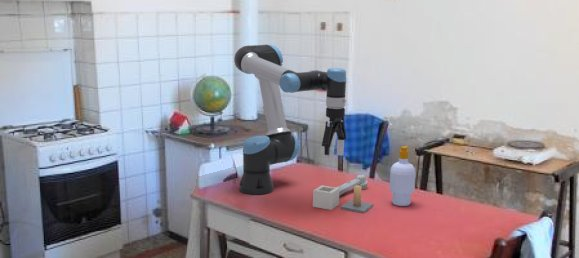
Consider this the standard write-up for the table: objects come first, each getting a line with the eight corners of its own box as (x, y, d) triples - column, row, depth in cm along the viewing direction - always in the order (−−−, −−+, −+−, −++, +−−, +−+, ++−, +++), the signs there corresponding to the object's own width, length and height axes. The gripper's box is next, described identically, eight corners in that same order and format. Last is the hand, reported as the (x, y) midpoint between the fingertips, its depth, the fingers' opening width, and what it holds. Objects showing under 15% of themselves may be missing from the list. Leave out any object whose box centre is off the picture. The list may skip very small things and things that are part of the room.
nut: (312, 206, 242) (313, 190, 241) (321, 201, 249) (321, 185, 248) (330, 209, 238) (331, 193, 237) (338, 204, 245) (339, 188, 244)
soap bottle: (418, 203, 247) (421, 147, 243) (405, 209, 240) (408, 151, 235) (397, 198, 254) (400, 143, 249) (383, 203, 247) (386, 147, 242)
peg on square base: (340, 209, 240) (341, 187, 238) (350, 202, 248) (351, 181, 246) (363, 213, 235) (364, 191, 233) (373, 206, 244) (373, 185, 242)
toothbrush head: (325, 189, 253) (360, 170, 270) (326, 203, 255) (360, 184, 272) (335, 192, 250) (369, 172, 267) (336, 206, 252) (370, 186, 269)
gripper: (332, 112, 225) (330, 167, 229) (355, 103, 246) (353, 153, 251) (314, 111, 228) (312, 164, 232) (338, 102, 250) (336, 151, 254)
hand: (333, 158), depth 242 cm, fingers open, 13 cm apart
